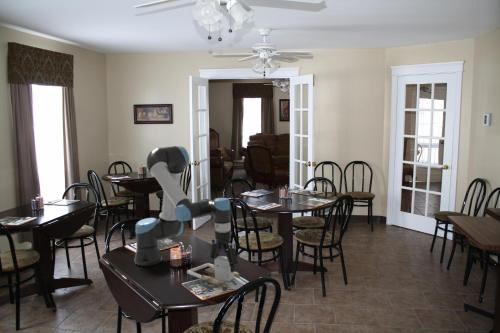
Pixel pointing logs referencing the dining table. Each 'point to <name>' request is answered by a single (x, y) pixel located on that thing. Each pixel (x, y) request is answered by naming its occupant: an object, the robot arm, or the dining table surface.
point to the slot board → (213, 280)
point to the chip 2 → (211, 273)
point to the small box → (222, 268)
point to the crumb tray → (198, 269)
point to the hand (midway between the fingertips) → (224, 275)
